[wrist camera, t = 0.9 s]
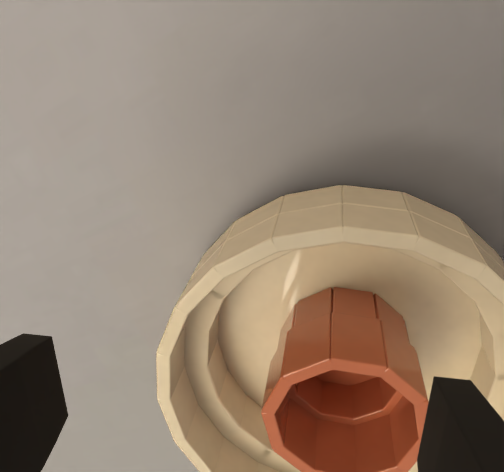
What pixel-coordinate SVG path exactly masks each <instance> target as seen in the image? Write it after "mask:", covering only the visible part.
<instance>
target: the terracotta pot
mask: <svg viewBox="0 0 504 472" xmlns="http://www.w3.org/2000/svg"><path fill="white" fill-rule="evenodd" d="M428 403H429V401H428V397H427V393H426V389H425V384H424V380H423V376H422V372H421V368H420V363H419V359H418V355H417V351H416V350H415V348H414V347H413V346H412V345H411V344H410V341H409V337H408V332H407V328H406V323H405V320H404V319H403V316H402V315H400V314H399V313H398V312H397V311H396V310H395V309H394V308H392V307H391V306H390V305H389V304H388V303H387V302H385V301H384V300H383V299H382V298H381V297H380V296H378V295H377V294H376V293H375V294H374V295H373V292H369V291H362V290H355V289H348V288H340V287H334V288H333V289H332V288H331V287H329V288H327V289H325V290H322V291H320V292H318V293H316V294H313V295H311V296H309V297H306V298H304V299H302V300H299V301H298V302H297V304H295V305H294V306H293V308H292V310H291V312H290V314H289V316H288V317H287V319H286V321H285V323H284V325H283V327H282V328H281V331H280V337H279V342H278V348H277V351H276V353H275V354H274V356H273V358H272V360H271V362H270V367H269V372H268V377H267V383H266V388H265V393H264V399H263V404H262V409H261V415H262V418H263V421H264V425H265V428H266V431H267V434H268V438H269V441H270V444H271V448H272V449H273V451H274V452H275V453H277V454H278V455H279V456H281V457H282V458H283V459H285V460H286V461H287V462H289V463H290V464H291V465H293V466H294V467H295V468H297V469H298V470H299V471H301V472H408V471H409V470H410V469H411V468H412V467H413V465H414V464H415V463H416V462H417V457H418V452H419V447H420V442H421V437H422V432H423V428H424V423H425V418H426V413H427V408H428Z"/></svg>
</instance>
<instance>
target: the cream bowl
mask: <svg viewBox="0 0 504 472" xmlns="http://www.w3.org/2000/svg"><path fill="white" fill-rule="evenodd" d="M329 287H331V288H332V289H333V288H334V287H340V288H348V289H355V290H362V291H369V292H373V295H374V294H375V293H376V294H377V295H378V296H380V297H381V298H382V299H383V300H384V301H385V302H387V303H388V304H389V305H390V306H391V307H392V308H394V309H395V310H396V311H397V312H398V313H399V314H400V315H402V316H403V319H404V320H405V323H406V328H407V332H408V337H409V341H410V344H411V345H412V346H413V347H414V348H415V350H416V351H417V355H418V359H419V363H420V368H421V372H422V376H423V380H424V384H425V389H426V393H427V397H428V401H429V398H430V393H431V388H432V383H433V378H434V376H436V377H446V378H455V379H465V380H471V381H472V382H473V384H474V385H475V386H476V387H477V388H478V390H479V391H480V392H481V393H482V394H483V396H484V397H485V398H486V399H487V401H488V402H489V403H490V404H491V406H492V407H493V408H494V409H495V410H496V412H497V413H498V414H499V415H500V417H501V418H502V419H503V420H504V262H503V260H502V259H501V258H500V256H499V255H498V253H497V252H496V251H495V250H494V249H493V248H492V247H490V246H489V245H488V244H487V243H486V242H485V241H484V240H483V239H482V238H481V237H480V236H479V235H478V234H477V233H475V232H474V231H473V230H472V229H471V228H470V227H469V226H468V225H467V224H466V223H465V222H464V221H463V220H462V219H460V218H459V217H457V216H456V215H454V214H452V213H450V212H447V211H445V210H443V209H441V208H438V207H436V206H434V205H432V204H429V203H427V202H425V201H423V200H420V199H418V198H416V197H414V196H411V195H409V194H407V193H405V192H403V193H402V192H399V191H390V190H382V189H373V188H365V187H356V186H347V185H343V186H341V185H337V186H332V187H326V188H321V189H315V190H310V191H304V192H299V193H293V194H288V195H285V196H281V197H279V198H277V199H275V200H274V201H272V202H270V203H268V204H266V205H264V206H262V207H260V208H258V209H256V210H255V211H253V212H251V213H249V214H247V215H245V216H243V217H241V218H239V219H238V220H237V221H235V222H234V223H233V224H232V225H231V226H230V227H229V228H228V229H227V230H226V231H225V232H224V233H223V234H222V235H221V237H220V238H219V239H218V240H217V241H216V242H215V243H214V244H213V245H212V246H211V247H210V248H209V249H208V250H207V252H206V253H205V254H204V255H203V256H202V258H201V260H200V262H199V263H198V265H197V267H196V269H195V271H194V272H193V274H192V276H191V278H190V280H189V281H188V283H187V285H186V287H185V289H184V291H183V292H182V294H181V296H180V298H179V300H178V301H177V303H176V305H175V307H174V309H173V311H172V314H171V317H170V319H169V322H168V324H167V327H166V329H165V332H164V334H163V337H162V339H161V342H160V344H159V347H158V349H157V353H156V365H157V399H158V402H159V405H160V407H161V410H162V412H163V415H164V417H165V420H166V422H167V425H168V427H169V430H170V432H171V435H172V437H173V440H174V441H175V443H176V444H177V445H178V447H179V448H180V449H181V450H182V451H183V453H184V454H185V455H186V456H187V457H188V459H189V460H190V461H191V462H192V463H193V465H194V466H195V467H196V468H197V470H198V471H199V472H301V471H299V470H298V469H297V468H295V467H294V466H293V465H291V464H290V463H289V462H287V461H286V460H285V459H283V458H282V457H281V456H279V455H278V454H277V453H275V452H274V451H273V449H272V448H271V444H270V441H269V438H268V434H267V431H266V428H265V425H264V421H263V418H262V415H261V409H262V404H263V399H264V393H265V388H266V383H267V377H268V372H269V367H270V362H271V360H272V358H273V356H274V354H275V353H276V351H277V348H278V342H279V337H280V331H281V328H282V327H283V325H284V323H285V321H286V319H287V317H288V316H289V314H290V312H291V310H292V308H293V306H294V305H295V304H297V302H298V301H299V300H302V299H304V298H306V297H309V296H311V295H313V294H316V293H318V292H320V291H322V290H325V289H327V288H329ZM408 472H418V466H417V462H416V463H415V464H414V465H413V467H412V468H411V469H410V470H409V471H408Z"/></svg>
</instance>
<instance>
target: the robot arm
mask: <svg viewBox="0 0 504 472" xmlns="http://www.w3.org/2000/svg"><path fill="white" fill-rule="evenodd" d="M67 417H68V412H67V407H66V403H65V398H64V393H63V388H62V384H61V379H60V374H59V369H58V364H57V360H56V355H55V350H54V345H53V340H52V337H51V336H41V335H32V334H21V335H19V336H17V337H15V338H13V339H11V340H9V341H7V342H5V343H3V344H1V345H0V472H41V470H42V468H43V467H44V465H45V463H46V461H47V459H48V457H49V455H50V453H51V451H52V449H53V447H54V445H55V443H56V441H57V439H58V437H59V434H60V432H61V430H62V428H63V426H64V424H65V421H66V419H67ZM417 466H418V472H504V420H503V419H502V418H501V417H500V415H499V414H498V413H497V412H496V410H495V409H494V408H493V407H492V406H491V404H490V403H489V402H488V401H487V399H486V398H485V397H484V396H483V394H482V393H481V392H480V391H479V390H478V388H477V387H476V386H475V385H474V384H473V382H472V381H471V380H465V379H455V378H446V377H436V376H434V378H433V383H432V388H431V393H430V398H429V403H428V408H427V413H426V418H425V423H424V428H423V432H422V437H421V442H420V447H419V452H418V457H417Z"/></svg>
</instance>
